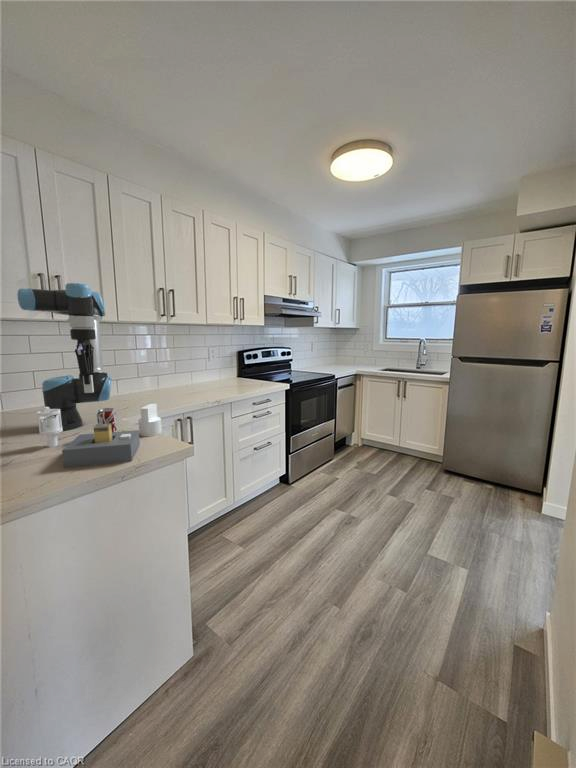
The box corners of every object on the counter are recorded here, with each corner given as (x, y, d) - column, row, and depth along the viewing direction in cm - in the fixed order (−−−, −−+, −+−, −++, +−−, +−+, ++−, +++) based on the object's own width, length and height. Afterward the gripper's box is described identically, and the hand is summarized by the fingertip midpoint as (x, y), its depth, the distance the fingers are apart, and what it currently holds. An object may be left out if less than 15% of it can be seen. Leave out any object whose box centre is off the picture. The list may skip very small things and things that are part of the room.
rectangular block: (99, 451, 112) (96, 424, 111) (113, 449, 114) (111, 423, 112) (96, 455, 108) (93, 428, 106) (110, 454, 109) (108, 426, 108)
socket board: (81, 450, 116) (79, 432, 115) (139, 444, 121) (138, 428, 120) (64, 467, 101) (61, 447, 100) (131, 460, 106) (130, 441, 105)
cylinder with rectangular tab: (145, 429, 141) (143, 403, 139) (165, 429, 140) (163, 403, 138) (135, 436, 132) (133, 408, 130) (156, 436, 131) (154, 408, 130)
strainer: (61, 441, 125) (56, 405, 122) (66, 445, 120) (62, 407, 118) (39, 446, 120) (34, 408, 117) (44, 450, 115) (39, 411, 113)
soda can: (100, 436, 131) (97, 408, 130) (118, 434, 134) (116, 407, 132) (98, 441, 125) (95, 412, 123) (116, 438, 128) (114, 410, 126)
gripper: (76, 327, 117) (83, 389, 121) (63, 328, 104) (71, 396, 109) (99, 328, 119) (105, 388, 123) (88, 329, 107) (95, 395, 111)
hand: (89, 392), depth 116 cm, fingers closed
